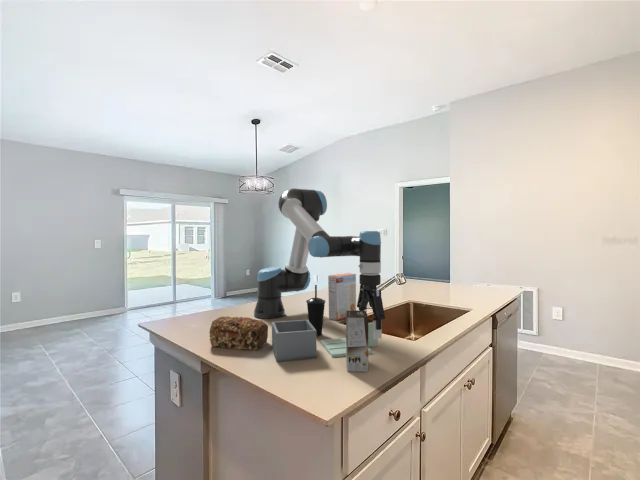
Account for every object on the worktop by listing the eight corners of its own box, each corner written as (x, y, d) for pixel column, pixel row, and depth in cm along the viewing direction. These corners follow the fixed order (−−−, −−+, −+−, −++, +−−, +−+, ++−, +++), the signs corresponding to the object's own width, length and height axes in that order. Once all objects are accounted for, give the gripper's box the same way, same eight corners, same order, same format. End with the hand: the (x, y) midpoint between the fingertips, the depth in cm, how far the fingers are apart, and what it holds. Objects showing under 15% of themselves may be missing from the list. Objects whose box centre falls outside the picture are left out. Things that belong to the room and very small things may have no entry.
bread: (208, 347, 116) (208, 319, 116) (224, 338, 127) (224, 312, 126) (257, 352, 112) (257, 323, 112) (269, 342, 122) (269, 315, 122)
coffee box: (369, 372, 95) (369, 317, 95) (347, 372, 96) (347, 317, 95) (365, 360, 104) (365, 310, 104) (345, 359, 105) (345, 309, 104)
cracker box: (347, 313, 165) (347, 272, 165) (356, 316, 161) (356, 273, 161) (327, 318, 156) (327, 274, 156) (336, 321, 151) (336, 276, 151)
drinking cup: (323, 338, 126) (323, 286, 126) (304, 337, 128) (304, 286, 127) (327, 332, 134) (327, 283, 133) (308, 331, 135) (308, 283, 135)
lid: (320, 342, 122) (320, 321, 121) (368, 338, 126) (368, 317, 126) (331, 357, 107) (331, 333, 107) (385, 352, 112) (385, 328, 111)
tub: (271, 347, 117) (271, 321, 116) (307, 344, 120) (307, 319, 120) (276, 361, 103) (276, 333, 103) (316, 358, 106) (316, 330, 106)
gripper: (348, 270, 129) (348, 324, 129) (374, 278, 105) (373, 344, 105) (366, 269, 131) (366, 323, 131) (395, 277, 107) (395, 342, 107)
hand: (369, 332), depth 118 cm, fingers open, 13 cm apart
